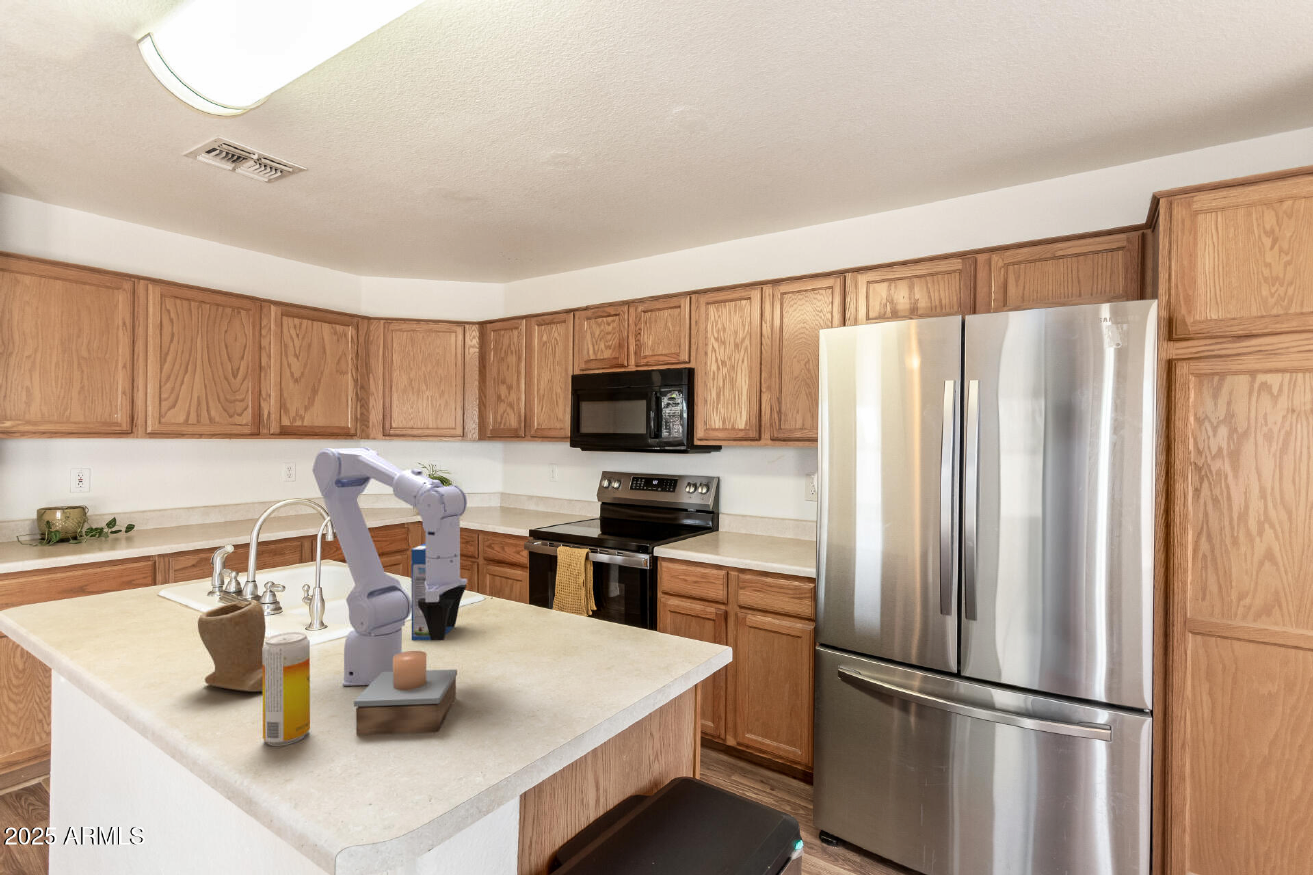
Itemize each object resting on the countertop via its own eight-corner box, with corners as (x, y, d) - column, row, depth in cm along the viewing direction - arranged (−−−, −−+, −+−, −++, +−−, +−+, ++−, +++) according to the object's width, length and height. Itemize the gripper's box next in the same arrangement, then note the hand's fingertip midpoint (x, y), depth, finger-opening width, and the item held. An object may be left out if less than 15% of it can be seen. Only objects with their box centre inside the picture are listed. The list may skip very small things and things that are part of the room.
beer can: (317, 727, 98) (317, 630, 98) (296, 747, 92) (296, 643, 92) (277, 728, 98) (277, 631, 98) (253, 748, 92) (253, 644, 92)
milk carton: (439, 640, 139) (439, 549, 139) (411, 640, 140) (411, 549, 139) (454, 626, 149) (454, 541, 149) (428, 626, 150) (428, 541, 149)
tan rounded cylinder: (388, 690, 99) (388, 661, 99) (398, 678, 104) (398, 651, 104) (421, 689, 100) (421, 660, 100) (429, 677, 105) (429, 650, 105)
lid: (353, 706, 95) (353, 701, 95) (382, 676, 108) (382, 671, 108) (438, 703, 96) (438, 698, 96) (457, 674, 109) (457, 669, 109)
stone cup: (183, 691, 112) (182, 606, 112) (249, 668, 123) (249, 591, 123) (239, 706, 106) (238, 616, 106) (304, 681, 117) (303, 599, 117)
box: (356, 734, 96) (356, 708, 96) (383, 701, 108) (383, 677, 108) (438, 731, 97) (438, 705, 97) (455, 698, 109) (455, 675, 109)
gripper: (456, 563, 105) (456, 645, 105) (474, 547, 119) (475, 620, 119) (412, 564, 104) (412, 646, 104) (436, 548, 119) (436, 621, 119)
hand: (443, 632), depth 112 cm, fingers open, 7 cm apart
